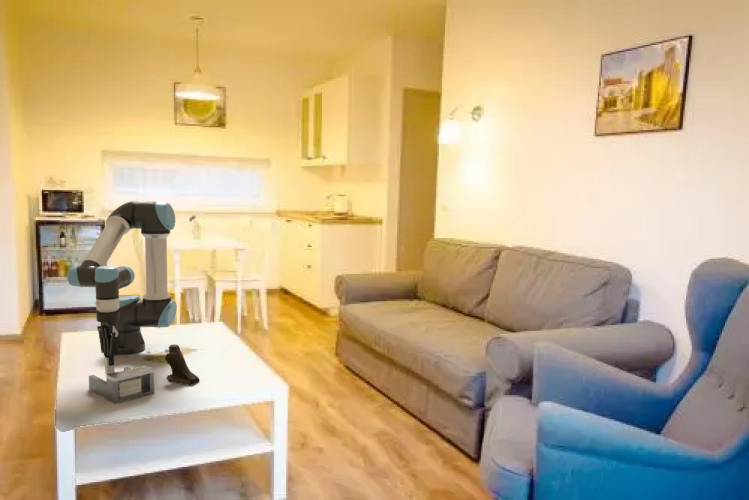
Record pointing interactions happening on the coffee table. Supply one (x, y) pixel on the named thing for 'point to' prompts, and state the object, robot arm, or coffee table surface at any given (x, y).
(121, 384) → the small box
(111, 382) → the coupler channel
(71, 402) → the coffee table surface
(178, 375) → the sculpture
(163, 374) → the coffee table surface
